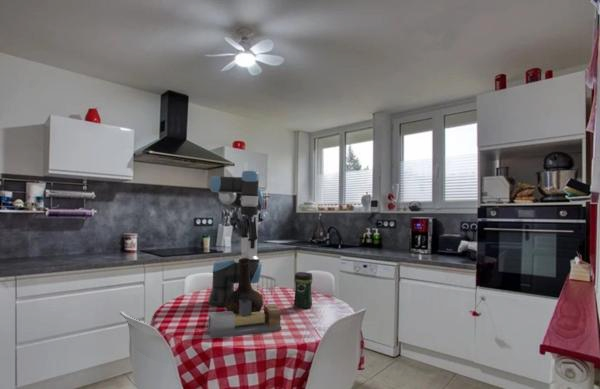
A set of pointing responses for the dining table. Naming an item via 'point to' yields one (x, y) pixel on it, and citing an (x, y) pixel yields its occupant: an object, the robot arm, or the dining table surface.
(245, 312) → the tan slab
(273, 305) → the walnut socket
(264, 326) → the base board
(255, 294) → the glass bottle
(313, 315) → the dining table surface
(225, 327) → the steel sleeve
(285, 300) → the dining table surface
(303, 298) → the coffee jar
